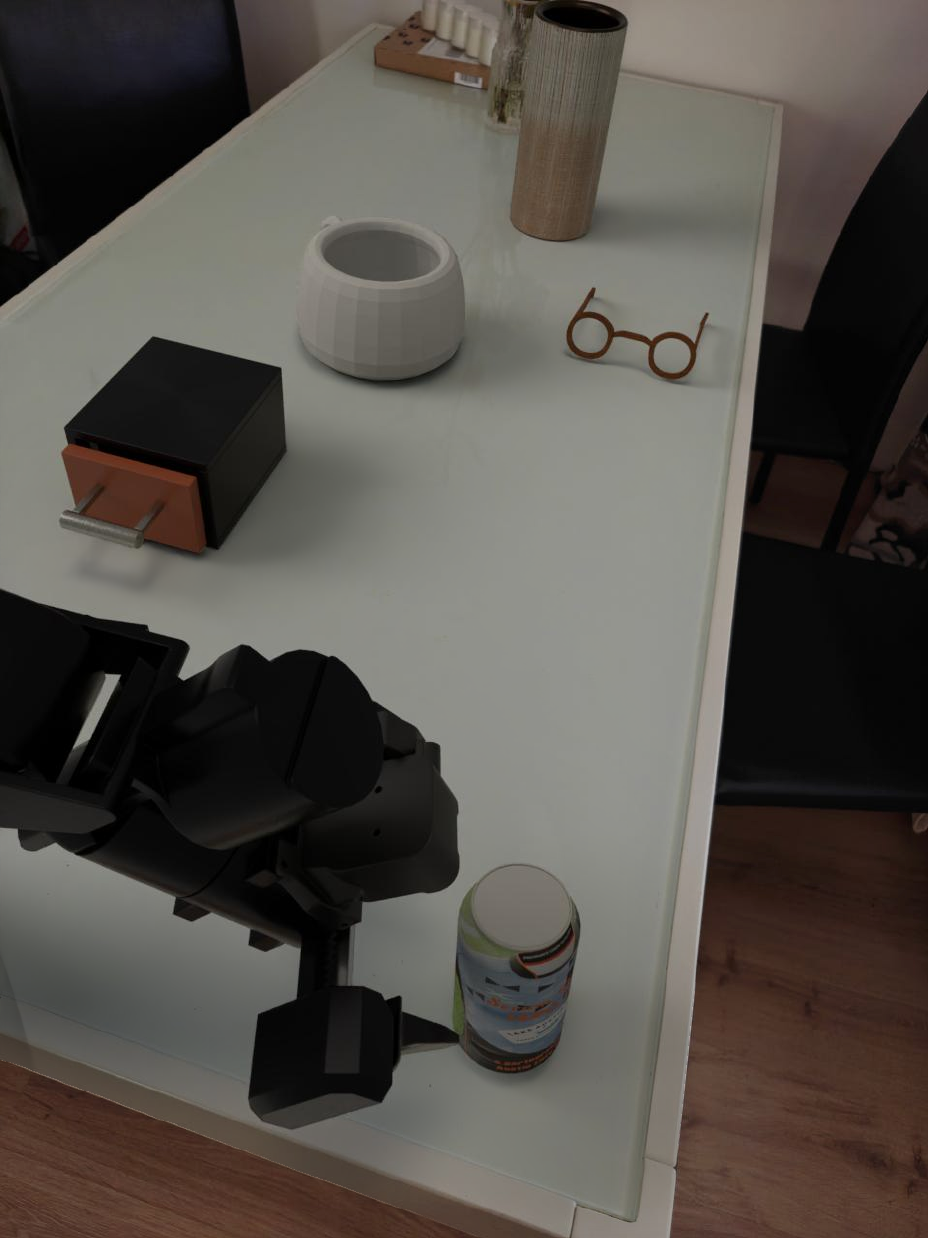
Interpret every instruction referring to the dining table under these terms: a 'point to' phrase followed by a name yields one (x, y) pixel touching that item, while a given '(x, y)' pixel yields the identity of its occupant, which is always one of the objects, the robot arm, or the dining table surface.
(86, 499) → the drawer with bar handle
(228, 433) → the small drawer box
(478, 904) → the beverage can
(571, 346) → the glasses
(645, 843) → the dining table surface
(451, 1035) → the robot arm
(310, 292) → the mug
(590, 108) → the tall ribbed vase
